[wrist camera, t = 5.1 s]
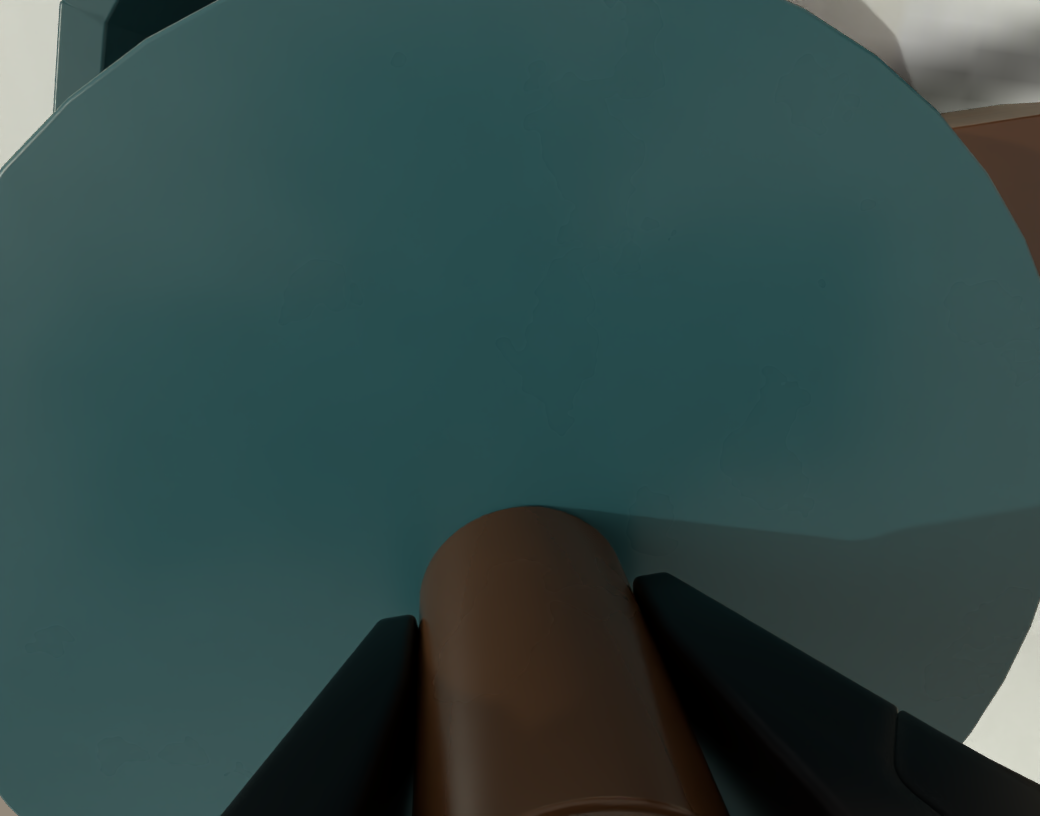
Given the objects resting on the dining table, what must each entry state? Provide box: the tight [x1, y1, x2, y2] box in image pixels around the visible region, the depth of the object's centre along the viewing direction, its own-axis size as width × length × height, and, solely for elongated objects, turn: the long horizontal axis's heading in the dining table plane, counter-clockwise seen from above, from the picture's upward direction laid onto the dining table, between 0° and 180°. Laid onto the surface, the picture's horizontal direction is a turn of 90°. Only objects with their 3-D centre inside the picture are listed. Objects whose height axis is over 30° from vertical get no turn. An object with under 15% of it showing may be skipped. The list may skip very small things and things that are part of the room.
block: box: [941, 102, 1040, 276], centre depth 19 cm, size 5×5×5 cm
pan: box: [53, 0, 216, 113], centre depth 17 cm, size 14×19×5 cm
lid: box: [0, 0, 1040, 816], centre depth 8 cm, size 15×15×6 cm
